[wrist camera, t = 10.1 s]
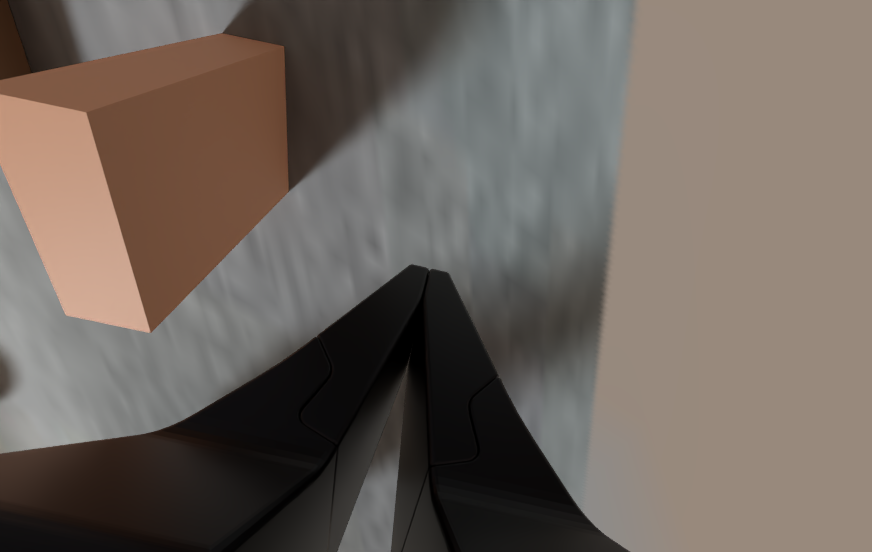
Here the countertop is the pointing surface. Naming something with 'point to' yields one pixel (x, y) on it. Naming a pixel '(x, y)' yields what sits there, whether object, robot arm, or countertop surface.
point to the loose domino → (145, 169)
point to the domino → (10, 46)
